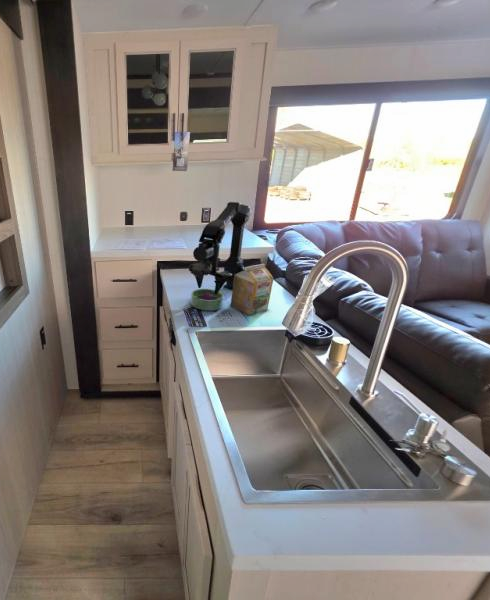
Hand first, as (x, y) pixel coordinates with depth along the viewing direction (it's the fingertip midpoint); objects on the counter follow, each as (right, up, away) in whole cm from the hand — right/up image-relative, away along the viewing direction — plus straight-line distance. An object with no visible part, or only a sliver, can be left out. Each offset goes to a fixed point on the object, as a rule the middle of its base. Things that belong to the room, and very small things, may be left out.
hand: (207, 291), depth 134 cm
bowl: (0, -6, +3) cm, 7 cm away
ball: (0, -3, +1) cm, 4 cm away
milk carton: (+17, -7, 0) cm, 19 cm away
